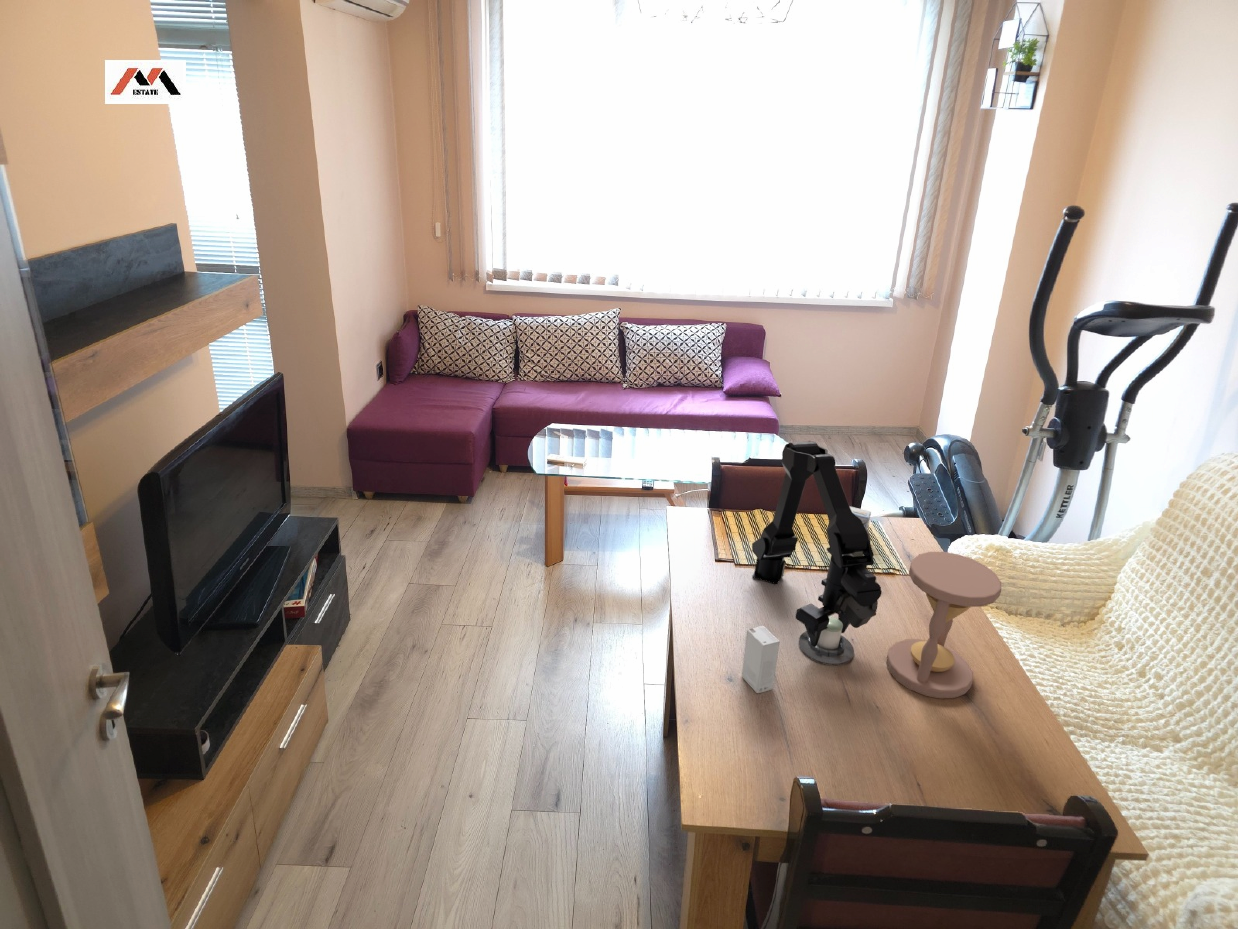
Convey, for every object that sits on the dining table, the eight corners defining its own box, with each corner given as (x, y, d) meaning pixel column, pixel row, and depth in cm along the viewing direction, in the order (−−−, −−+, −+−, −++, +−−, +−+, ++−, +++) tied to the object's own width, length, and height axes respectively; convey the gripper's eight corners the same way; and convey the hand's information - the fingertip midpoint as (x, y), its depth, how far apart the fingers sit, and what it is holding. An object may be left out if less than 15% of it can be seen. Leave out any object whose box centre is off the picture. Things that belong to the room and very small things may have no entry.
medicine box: (865, 538, 226) (871, 511, 222) (862, 545, 222) (869, 517, 218) (837, 531, 229) (843, 504, 225) (834, 537, 225) (839, 510, 221)
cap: (827, 655, 175) (832, 633, 173) (809, 642, 179) (814, 620, 176) (842, 648, 178) (847, 626, 175) (825, 636, 182) (830, 614, 179)
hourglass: (909, 636, 185) (934, 542, 174) (984, 674, 174) (1016, 577, 163) (870, 668, 173) (895, 569, 163) (948, 711, 162) (979, 609, 152)
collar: (793, 654, 176) (794, 648, 175) (804, 625, 186) (805, 619, 185) (848, 671, 172) (850, 665, 171) (857, 641, 182) (858, 634, 181)
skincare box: (773, 689, 165) (782, 641, 160) (755, 695, 163) (764, 646, 158) (756, 671, 170) (764, 624, 165) (738, 676, 168) (746, 628, 163)
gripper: (841, 611, 160) (827, 674, 167) (899, 585, 171) (884, 644, 177) (799, 584, 168) (788, 645, 175) (857, 561, 179) (844, 618, 185)
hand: (827, 639), depth 178 cm, fingers open, 9 cm apart
